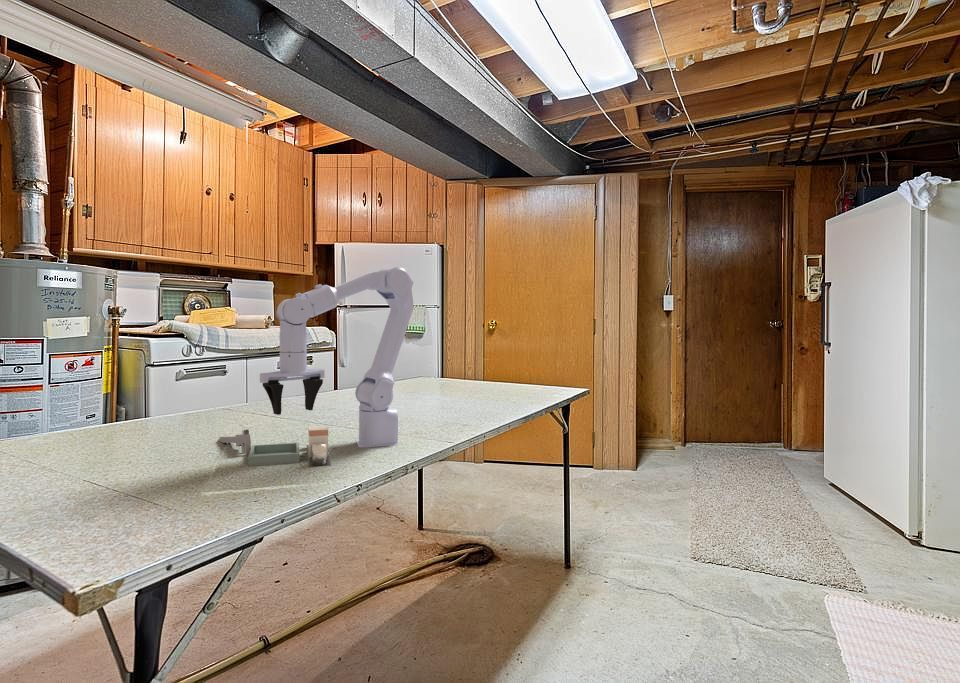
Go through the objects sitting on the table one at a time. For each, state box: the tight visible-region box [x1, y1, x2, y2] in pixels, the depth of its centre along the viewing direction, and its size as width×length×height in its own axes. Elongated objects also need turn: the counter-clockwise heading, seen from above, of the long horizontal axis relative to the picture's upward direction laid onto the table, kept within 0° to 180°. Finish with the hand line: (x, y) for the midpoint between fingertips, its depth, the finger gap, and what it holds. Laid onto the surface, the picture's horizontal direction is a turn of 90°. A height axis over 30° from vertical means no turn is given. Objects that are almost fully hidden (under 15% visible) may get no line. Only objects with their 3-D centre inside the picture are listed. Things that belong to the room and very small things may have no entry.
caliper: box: [217, 428, 252, 456], centre depth 122 cm, size 20×1×6 cm, turn 43°
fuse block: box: [306, 443, 332, 468], centre depth 116 cm, size 4×19×4 cm, turn 20°
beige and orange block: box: [307, 425, 329, 457], centre depth 116 cm, size 4×4×6 cm
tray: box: [247, 442, 301, 467], centre depth 113 cm, size 10×10×2 cm
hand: (293, 411), depth 117 cm, fingers open, 7 cm apart
